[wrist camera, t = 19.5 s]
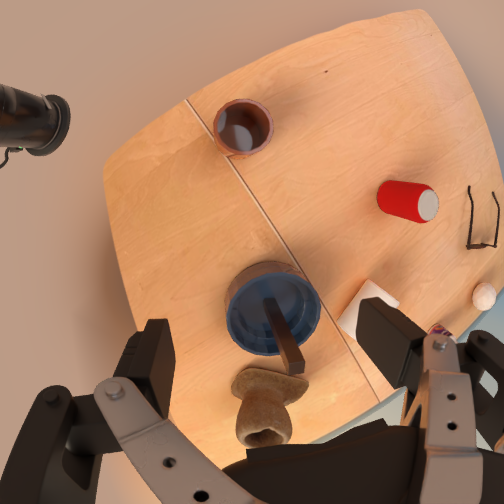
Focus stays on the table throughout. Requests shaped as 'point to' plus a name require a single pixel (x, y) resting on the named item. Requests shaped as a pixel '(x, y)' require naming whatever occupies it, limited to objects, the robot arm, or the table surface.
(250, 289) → the bowl
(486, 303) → the geometric ball
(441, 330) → the pill bottle
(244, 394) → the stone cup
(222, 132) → the holder
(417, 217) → the beverage can
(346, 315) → the mug
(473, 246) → the eyeglasses
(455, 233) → the table surface
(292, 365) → the stick
